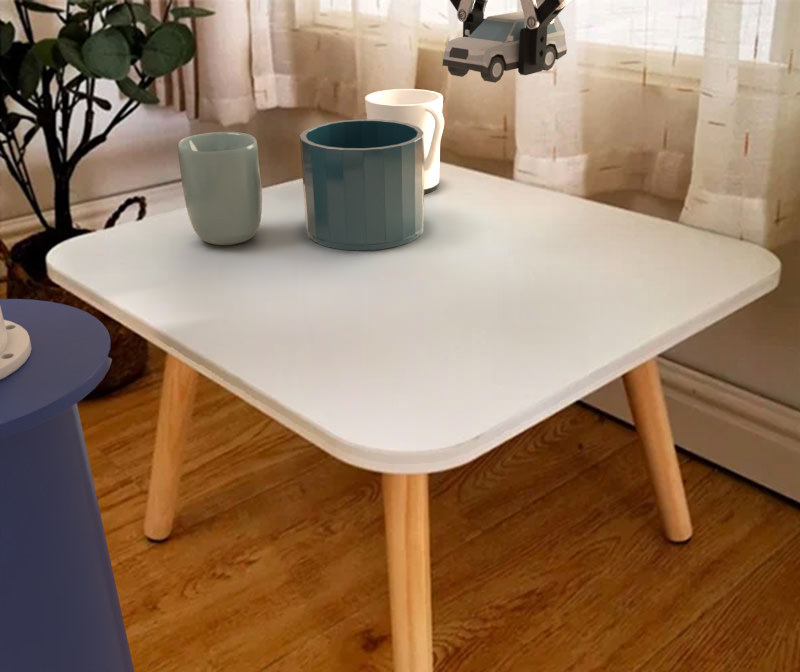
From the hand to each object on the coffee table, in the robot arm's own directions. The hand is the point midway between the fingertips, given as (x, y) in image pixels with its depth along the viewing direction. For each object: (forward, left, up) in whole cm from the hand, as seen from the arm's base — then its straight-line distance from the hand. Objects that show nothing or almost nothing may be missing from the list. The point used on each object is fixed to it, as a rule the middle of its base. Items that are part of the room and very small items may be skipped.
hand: (502, 66), depth 89 cm
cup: (-19, +20, -17) cm, 32 cm away
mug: (+6, +17, -17) cm, 25 cm away
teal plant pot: (-8, +11, -17) cm, 21 cm away
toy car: (0, 0, -1) cm, 1 cm away
